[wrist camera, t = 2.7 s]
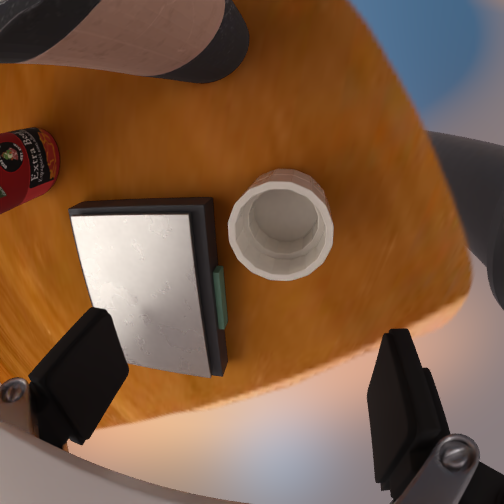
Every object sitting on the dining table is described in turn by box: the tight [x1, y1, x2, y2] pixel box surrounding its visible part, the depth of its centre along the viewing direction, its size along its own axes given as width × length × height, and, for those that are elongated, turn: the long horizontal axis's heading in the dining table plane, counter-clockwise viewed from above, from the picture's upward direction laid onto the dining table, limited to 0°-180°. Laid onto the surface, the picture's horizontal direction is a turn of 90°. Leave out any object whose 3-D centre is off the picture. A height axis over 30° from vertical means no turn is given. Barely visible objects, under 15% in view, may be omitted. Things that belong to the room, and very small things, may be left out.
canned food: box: [0, 127, 60, 214], centre depth 22 cm, size 8×8×11 cm
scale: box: [68, 197, 228, 376], centre depth 30 cm, size 15×18×2 cm
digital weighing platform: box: [71, 212, 212, 378], centre depth 28 cm, size 12×17×1 cm
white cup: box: [228, 169, 334, 281], centre depth 23 cm, size 7×7×6 cm
